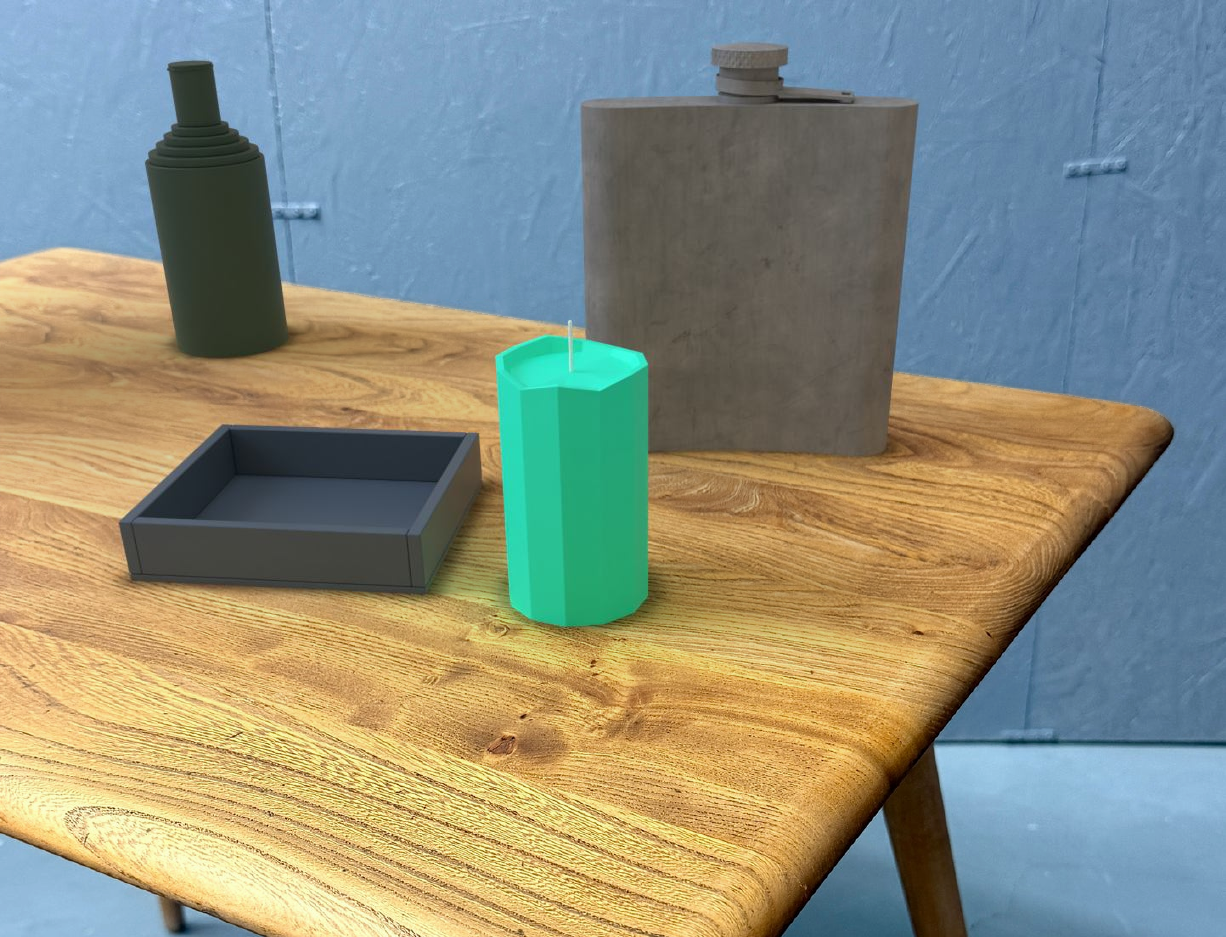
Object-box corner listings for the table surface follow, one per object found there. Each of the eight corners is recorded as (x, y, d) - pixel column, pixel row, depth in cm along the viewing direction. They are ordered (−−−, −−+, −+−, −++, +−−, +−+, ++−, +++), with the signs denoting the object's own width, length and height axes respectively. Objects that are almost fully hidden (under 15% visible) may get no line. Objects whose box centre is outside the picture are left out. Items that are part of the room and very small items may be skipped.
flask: (160, 360, 85) (106, 70, 76) (203, 328, 91) (158, 56, 83) (267, 363, 84) (224, 70, 76) (303, 330, 90) (268, 56, 82)
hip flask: (585, 458, 69) (576, 49, 60) (591, 430, 73) (583, 40, 63) (889, 461, 68) (929, 46, 59) (880, 433, 72) (916, 38, 62)
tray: (131, 586, 57) (117, 521, 56) (231, 480, 67) (221, 423, 66) (426, 600, 56) (420, 534, 54) (483, 490, 66) (479, 432, 64)
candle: (489, 580, 57) (471, 309, 51) (617, 556, 59) (613, 292, 53) (534, 644, 52) (519, 353, 47) (671, 615, 54) (674, 332, 48)
